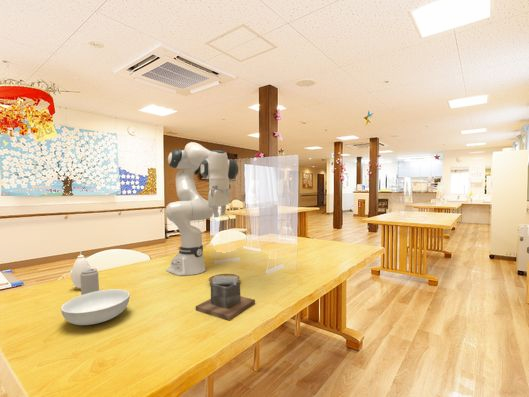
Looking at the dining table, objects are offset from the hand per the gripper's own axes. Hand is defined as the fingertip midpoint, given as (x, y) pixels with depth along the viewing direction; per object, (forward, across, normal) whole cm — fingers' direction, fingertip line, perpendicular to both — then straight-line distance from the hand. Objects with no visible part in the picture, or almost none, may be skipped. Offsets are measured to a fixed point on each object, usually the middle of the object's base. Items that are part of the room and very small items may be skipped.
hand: (219, 216), depth 126 cm
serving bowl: (+33, -35, +34) cm, 59 cm away
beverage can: (+33, -19, +52) cm, 64 cm away
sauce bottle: (+33, -9, +65) cm, 73 cm away
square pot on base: (+32, -21, -9) cm, 40 cm away
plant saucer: (+33, +4, 0) cm, 34 cm away
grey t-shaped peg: (+30, -21, -9) cm, 38 cm away
